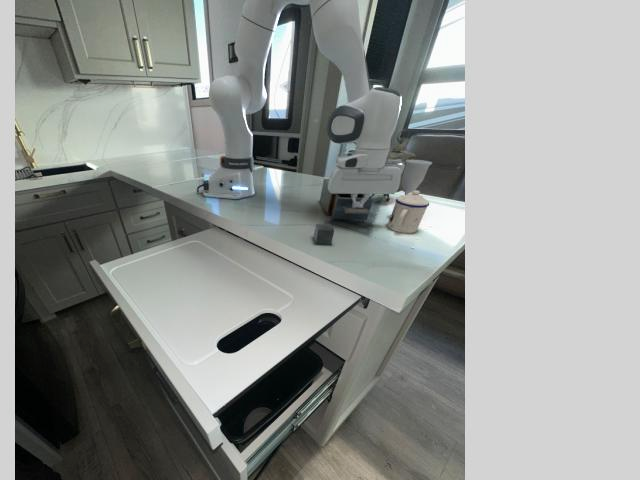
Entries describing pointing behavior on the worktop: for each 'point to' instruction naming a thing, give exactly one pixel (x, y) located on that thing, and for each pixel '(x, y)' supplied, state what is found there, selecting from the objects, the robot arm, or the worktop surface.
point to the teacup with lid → (408, 212)
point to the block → (323, 234)
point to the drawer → (349, 207)
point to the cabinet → (326, 197)
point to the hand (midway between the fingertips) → (357, 207)
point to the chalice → (414, 174)
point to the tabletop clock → (399, 157)
